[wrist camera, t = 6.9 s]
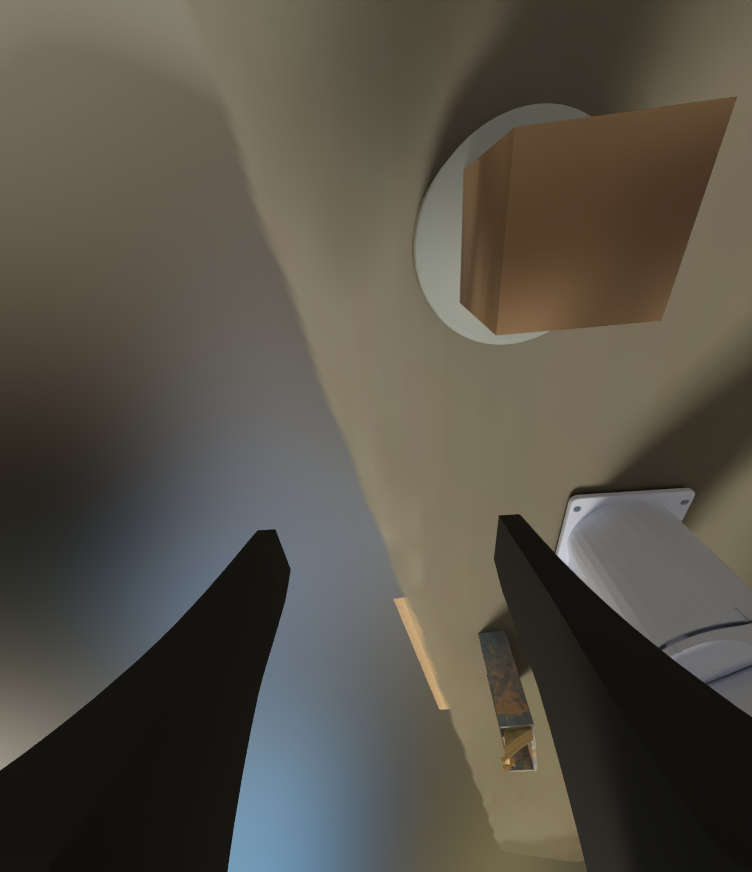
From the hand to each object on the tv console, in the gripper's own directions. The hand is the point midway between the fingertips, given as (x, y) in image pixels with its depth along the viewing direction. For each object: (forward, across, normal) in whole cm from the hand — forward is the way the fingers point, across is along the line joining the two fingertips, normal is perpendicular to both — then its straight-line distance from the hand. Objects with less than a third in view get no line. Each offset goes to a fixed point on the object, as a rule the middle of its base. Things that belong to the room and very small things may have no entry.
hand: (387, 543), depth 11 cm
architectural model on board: (+11, -9, +31) cm, 34 cm away
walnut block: (+8, -6, -8) cm, 13 cm away
